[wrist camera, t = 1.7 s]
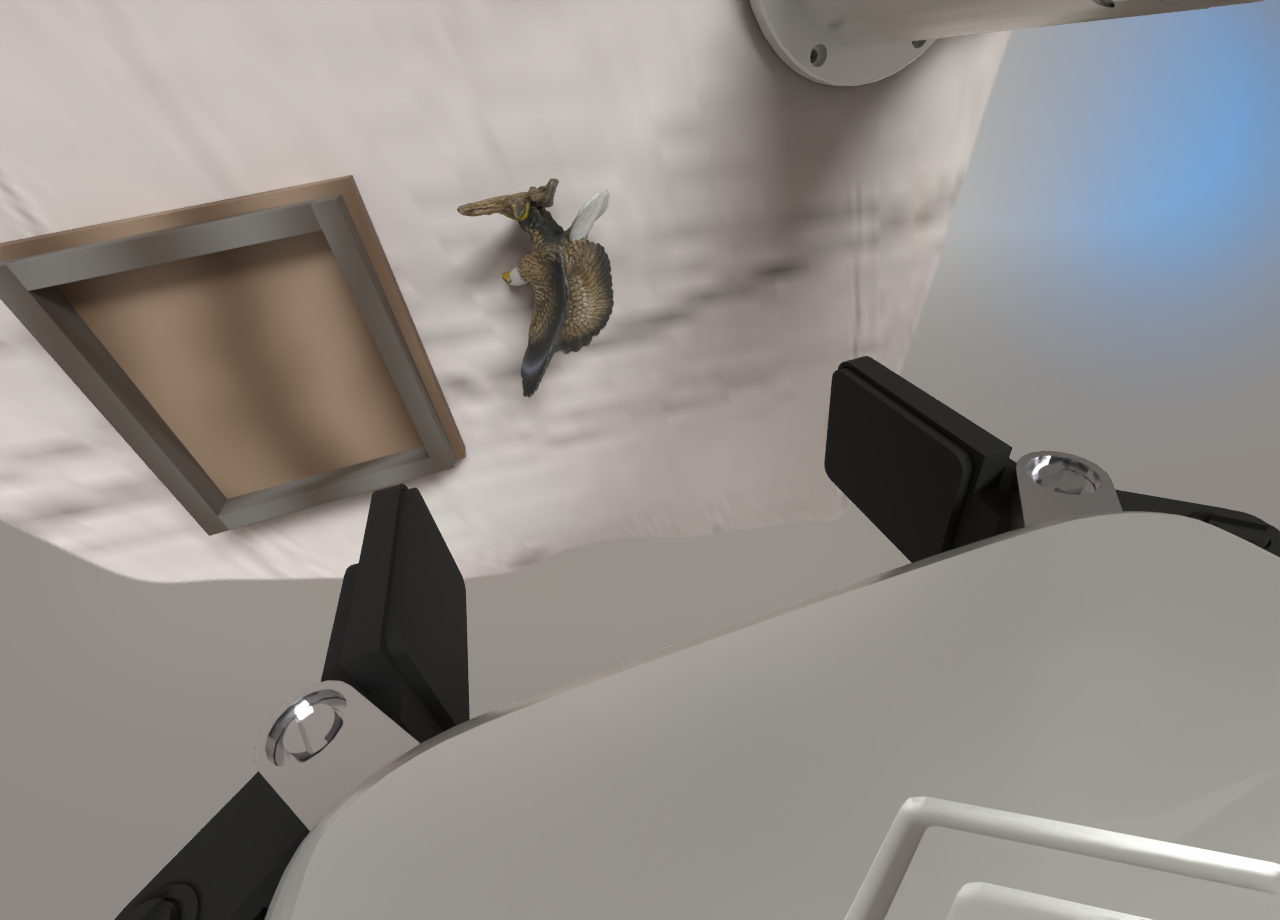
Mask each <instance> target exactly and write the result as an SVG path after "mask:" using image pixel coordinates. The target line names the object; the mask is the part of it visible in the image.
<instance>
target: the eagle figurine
mask: <svg viewBox="0 0 1280 920" xmlns="http://www.w3.org/2000/svg"><path fill="white" fill-rule="evenodd" d="M558 183H559V180H558V179H550V181H549V182H548V184H547V185H546V186H541V187H539V188H538V189H537V188H536V187H530V189H529V192H522V193H517V194H514V195H505V196H499V197H494V198H490V199H486V200H483V201H479V202H475V203H469V204H466V205H463V206H460V207H458V209H457V210H458V212H459V213H461V214H462V215H466V216H479V215H491V214H493V213H500V214H503V215H505V216H507V217H509V218H511V219H515V220H518V222H519V224H520V225H521V228H522V229H523V230H525V231H526V232H527V233H529V235H530V238H531V241H532V244H533V250H532V251H531V252H529V253H527V254H526V255H525V256H524V257H523V258H522V259H521V260H520V262H519V263H518V265H517V266H516V267H515V268H514V269H513V270H512V271H511V272H509V273H502V277H503V279H505V280H506V281H508V282H509V284H510V285H513V286H519V285H524V284H527V283H530V284H531V286H532V289H533V296H534V312H533V317H532V320H531V324H530V328H529V342H528V347H527V349H526V352H525V355H524V359H523V363H522V368H521V376H522V378H523V381H522V383H523V391H524V392H523V395H524V396H525V397H527V396H528V397H531V395H533V394H534V392H535V391H536V390H537V389H538V386H539V383H540V382H541V380H542V377H543V375H544V374H545V371H546V368H547V367H548V365H549V362H550V360H551V358H552V356H553V354H554V352H555V351H558V350H560V349H562V351H563V352H564V353H567V354H568V353H569V352H570V351H571V350H572V351H574V352H577V351H579V350H580V349H581V347H582V346H583V345H588V344H589V343H590V342H591V340H592V336H593V335H598V334H599V332H600V329H601V328H603V327H604V326H605V325H606V322H607V321H608V320H609V315H610V314H611V313H612V307H613V304H614V302H613V290H612V289H611V288H612V276H611V274H610V272H611V267H610V261H609V259H608V255H607V254H606V253H605V249H604V247H603V246H601V245H600V244H599V243H597V244H596V245H595V243H594V242H590V243H589V241H588V240H587V238H588V233H589V231H590V229H591V227H592V226H593V224H594V222H595V221H596V220H597V219H598V218H599V217H600V216H601V215H602V214H603V213H604V212H605V210H606V209H607V207H608V199H609V196H610V194H609V192H608V190H604V191H598V192H596V193H595V194H594V195H593V197H591V198H590V199H589V200H588V202H586V203H585V204H584V205H583V206H582V208H581V210H580V211H579V213H578V214H577V216H576V218H575V219H574V221H573V223H572V225H571V227H570V228H569V229H568V230H566V231H564V230H563V228H562V227H561V226H559V225H558V224H557V223H556V222H555V220H554V219H553V218H552V216H551V213H550V212H549V211H546V209H545V207H551V206H552V205H553V198H554V194H555V191H556V187H557V185H558Z"/></svg>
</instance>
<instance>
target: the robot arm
mask: <svg viewBox="0 0 1280 920" xmlns="http://www.w3.org/2000/svg"><path fill="white" fill-rule="evenodd" d="M1259 1H1264V0H750V4H751V8H752V11H753V13H754V15H755V17H756V19H757V22H758V24H759V26H760V28H761V30H762V33H763V35H764V37H765V38H766V39H767V41H768V42H769V44H770V45H771V47H772V48H773V49H774V51H775V52H776V54H777V55H778V56H779V58H781V59H782V60H783V61H784V62H785V63H786V64H787V65H788V66H789V67H791V68H792V69H793V70H794V71H795V72H796V73H798V74H800V75H802V76H804V77H806V78H808V79H810V80H812V81H814V82H816V83H821V84H826V85H831V86H858V85H863V84H868V83H873V82H877V81H879V80H881V79H884V78H886V77H888V76H890V75H893V74H895V73H897V72H898V71H900V70H901V69H903V68H904V67H906V66H907V65H908V64H910V63H911V62H913V61H914V60H915V59H917V58H918V57H919V56H920V55H921V54H922V53H923V52H924V51H925V50H926V49H927V48H928V47H929V46H930V45H931V44H932V43H933V42H935V41H936V40H937V39H938V38H945V37H954V36H963V35H972V34H981V33H990V32H999V31H1008V30H1016V29H1025V28H1035V27H1044V26H1053V25H1062V24H1071V23H1080V22H1089V21H1098V20H1107V19H1116V18H1125V17H1134V16H1143V15H1152V14H1161V13H1170V12H1180V11H1188V10H1198V9H1207V8H1210V7H1217V6H1226V5H1235V4H1243V3H1252V2H1259ZM811 52H812V55H813V56H812V60H810V56H811ZM1011 450H1012V447H1011V446H1009V445H1008V444H1006V443H1004V442H1003V441H1001V440H999V439H998V438H996V437H995V436H993V435H992V434H990V433H989V432H987V431H985V430H984V429H982V428H981V427H979V426H977V425H976V424H974V423H973V422H971V421H970V420H968V419H967V418H965V417H963V416H962V415H960V414H959V413H957V412H956V411H954V410H952V409H951V408H949V407H948V406H946V405H945V404H943V403H941V402H940V401H938V400H936V399H935V398H934V397H932V396H930V395H929V394H927V393H926V392H924V391H923V390H921V389H919V388H918V387H916V386H915V385H913V384H912V383H910V382H908V381H907V380H905V379H904V378H902V377H901V376H899V375H897V374H896V373H894V372H893V371H891V370H890V369H888V368H886V367H885V366H883V365H882V364H880V363H879V362H877V361H875V360H874V359H872V358H871V357H868V356H864V357H860V358H856V359H853V360H849V361H846V362H843V363H841V364H840V365H839V367H838V370H837V371H835V372H834V374H833V377H832V386H831V397H830V408H829V419H828V430H827V441H826V452H825V470H826V473H827V475H828V477H829V478H830V479H831V481H832V482H833V483H834V484H835V485H836V486H837V487H838V488H839V489H840V490H841V491H842V492H843V493H844V494H845V495H846V496H847V497H848V498H849V499H850V500H851V501H852V502H853V503H854V504H855V505H856V506H857V507H858V508H859V509H860V510H861V511H862V512H863V513H864V514H865V515H866V516H867V517H868V518H869V519H870V520H871V522H872V523H874V524H875V526H876V527H877V528H878V529H879V530H880V531H881V532H882V533H883V534H884V535H885V536H886V537H887V538H888V539H889V540H890V541H891V542H892V543H893V544H894V545H895V546H896V547H897V548H898V549H899V550H900V551H901V552H902V553H903V554H904V555H905V556H906V557H907V558H908V559H909V560H910V561H911V562H912V563H911V564H908V565H905V566H902V567H899V568H896V569H893V570H890V571H887V572H884V573H881V574H879V575H875V576H872V577H869V578H866V579H863V580H861V581H858V582H855V583H852V584H849V585H846V586H843V587H840V588H837V589H834V590H831V591H828V592H826V593H822V594H820V595H817V596H814V597H811V598H808V599H805V600H802V601H799V602H796V603H793V604H790V605H788V606H785V607H782V608H779V609H776V610H773V611H770V612H767V613H765V614H761V615H759V616H756V617H753V618H750V619H747V620H745V621H741V622H738V623H736V624H733V625H730V626H727V627H724V628H721V629H718V630H715V631H712V632H709V633H706V634H704V635H701V636H698V637H695V638H692V639H690V640H687V641H684V642H681V643H678V644H675V645H672V646H670V647H667V648H664V649H661V650H658V651H655V652H652V653H650V654H647V655H644V656H641V657H638V658H635V659H632V660H629V661H627V662H624V663H621V664H618V665H615V666H612V667H610V668H607V669H604V670H601V671H598V672H596V673H592V674H590V675H587V676H584V677H581V678H579V679H576V680H573V681H570V682H567V683H565V684H562V685H560V686H557V687H554V688H551V689H548V690H546V691H543V692H540V693H538V694H535V695H533V696H530V697H527V698H524V699H521V700H519V701H516V702H513V703H511V704H508V705H505V706H502V707H500V708H498V709H495V710H492V711H490V712H488V713H485V714H483V715H480V716H478V717H476V718H473V719H471V720H470V719H469V687H468V686H469V684H468V653H467V652H468V650H467V615H466V589H465V584H464V580H463V577H462V575H461V573H460V571H459V569H458V567H457V565H456V563H455V561H454V559H453V557H452V555H451V553H450V551H449V549H448V547H447V545H446V543H445V541H444V539H443V537H442V535H441V533H440V531H439V529H438V527H437V525H436V523H435V521H434V519H433V517H432V515H431V513H430V511H429V509H428V507H427V505H426V504H425V502H424V500H423V498H422V496H421V494H420V492H419V490H418V489H417V488H412V489H408V488H407V486H406V485H405V484H399V485H396V486H392V487H388V488H385V489H381V490H378V491H375V492H373V495H372V499H371V504H370V509H369V514H368V519H367V524H366V529H365V534H364V539H363V545H362V550H361V555H360V560H359V563H358V564H354V565H351V566H349V567H348V568H347V570H346V572H345V575H344V579H343V584H342V589H341V593H340V597H339V602H338V607H337V611H336V616H335V620H334V625H333V629H332V633H331V638H330V643H329V647H328V652H327V656H326V661H325V665H324V670H323V675H322V679H321V682H320V683H316V684H313V685H311V686H309V687H307V688H305V689H303V690H301V691H299V692H297V693H296V694H294V695H293V696H292V697H290V698H289V699H288V700H286V701H285V702H284V703H283V704H282V705H281V706H280V707H279V708H278V709H277V710H276V711H275V712H274V713H273V714H272V715H271V716H270V717H269V719H268V720H267V722H266V723H265V725H264V726H263V728H262V729H261V731H260V733H259V736H258V739H257V741H256V744H255V747H254V762H255V764H256V767H257V769H258V773H256V774H255V776H254V777H253V778H252V779H251V780H250V781H249V782H248V783H247V784H246V785H245V786H244V787H243V788H242V789H241V790H240V791H239V792H238V793H237V794H236V795H235V796H234V797H233V798H232V799H231V800H230V801H229V802H228V803H227V804H226V805H225V806H224V807H223V808H222V809H221V810H220V811H219V812H218V813H217V814H216V815H215V816H214V817H213V818H212V819H211V820H210V822H208V823H207V825H205V827H204V828H202V830H201V831H200V832H199V833H198V834H197V835H196V836H195V837H194V838H193V839H192V840H191V841H190V842H189V843H188V844H187V845H186V846H185V847H184V848H183V849H182V850H181V851H180V852H179V853H178V854H177V855H176V856H175V857H174V858H173V859H172V860H171V861H170V862H169V863H168V864H167V865H166V866H165V867H164V868H163V869H162V870H161V871H160V872H159V873H158V874H157V875H156V876H155V877H154V878H153V880H152V881H150V883H149V884H148V885H147V886H146V887H145V888H144V889H143V890H142V891H141V892H140V893H139V894H138V895H137V896H136V897H135V898H134V899H133V900H132V901H131V902H130V903H129V904H128V905H127V906H126V907H125V908H124V909H123V911H122V912H121V913H120V914H119V915H118V916H117V917H116V919H115V920H1280V531H1279V530H1278V529H1276V528H1275V527H1273V526H1271V525H1269V524H1267V523H1265V522H1264V521H1263V520H1261V519H1259V518H1257V517H1255V516H1252V515H1250V514H1247V513H1244V512H1239V511H1234V510H1229V509H1225V508H1219V507H1213V506H1207V505H1202V504H1196V503H1190V502H1184V501H1178V500H1172V499H1167V498H1160V497H1155V496H1149V495H1143V494H1137V493H1132V492H1125V491H1120V490H1115V488H1114V485H1113V483H1112V480H1111V478H1110V477H1109V475H1108V474H1107V472H1105V471H1104V470H1103V469H1102V468H1100V467H1099V466H1098V465H1096V464H1094V463H1092V462H1090V461H1088V460H1086V459H1084V458H1081V457H1078V456H1075V455H1072V454H1067V453H1062V452H1055V451H1040V452H1033V453H1030V454H1027V455H1024V456H1023V457H1021V458H1020V459H1019V460H1018V462H1017V463H1015V462H1014V461H1013V460H1011V459H1010V458H1009V456H1010V453H1011Z"/></svg>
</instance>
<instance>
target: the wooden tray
mask: <svg viewBox="0 0 1280 920" xmlns="http://www.w3.org/2000/svg"><path fill="white" fill-rule="evenodd" d="M0 299H1V300H2V301H3V302H4V303H5V304H6V306H7V307H8V308H9V309H10V310H11V311H12V312H13V314H14V315H15V316H16V317H17V318H18V319H19V320H20V322H21V323H22V324H23V325H24V326H25V327H26V328H27V329H28V331H29V332H30V333H31V334H32V335H33V336H34V337H35V339H36V340H37V341H38V342H39V343H40V344H41V345H42V346H43V348H44V349H45V350H46V351H47V352H48V353H49V354H50V356H51V357H52V358H53V359H54V360H55V361H56V362H57V364H58V365H59V366H60V367H61V368H62V369H63V370H64V371H65V373H66V374H67V375H68V376H69V377H70V378H71V379H72V381H73V382H74V383H75V384H76V385H77V386H78V387H79V388H80V390H81V391H82V392H83V393H84V394H85V395H86V396H87V398H88V399H89V400H90V401H91V402H92V403H93V404H94V406H95V407H96V408H97V409H98V410H99V411H100V412H101V413H102V415H103V416H104V417H105V418H106V419H107V420H108V421H109V423H110V424H111V425H112V426H113V427H114V428H115V429H116V431H117V432H118V433H119V434H120V435H121V436H122V437H123V438H124V440H125V441H126V442H127V443H128V444H129V445H130V446H131V448H132V449H133V450H134V451H135V452H136V453H137V454H138V455H139V457H140V458H141V459H142V460H143V461H144V462H145V463H146V465H147V466H148V467H149V468H150V469H151V470H152V471H153V473H154V474H155V475H156V476H157V477H158V478H159V479H160V480H161V482H162V483H163V484H164V485H165V486H166V487H167V488H168V490H169V491H170V492H171V493H172V494H173V495H174V496H175V497H176V499H177V500H178V501H179V502H180V503H181V504H182V505H183V507H184V508H185V509H186V510H187V511H188V512H189V513H190V515H191V516H192V517H193V518H194V519H195V520H196V521H197V522H198V524H199V525H200V526H201V527H202V528H203V529H204V530H205V532H206V533H207V534H208V535H209V536H210V535H213V534H217V533H220V532H224V531H228V530H231V529H235V528H238V527H242V526H245V525H249V524H253V523H256V522H260V521H263V520H267V519H270V518H274V517H278V516H281V515H285V514H288V513H292V512H295V511H299V510H303V509H306V508H310V507H313V506H317V505H321V504H324V503H328V502H331V501H335V500H338V499H342V498H346V497H349V496H353V495H356V494H360V493H363V492H367V491H371V490H374V489H378V488H381V487H385V486H388V485H392V484H396V483H399V482H403V481H406V480H410V479H414V478H417V477H421V476H424V475H428V474H431V473H435V472H439V471H442V470H446V469H449V468H453V467H454V460H458V459H461V458H465V457H466V456H465V445H464V443H463V440H462V438H461V436H460V433H459V431H458V428H457V426H456V424H455V421H454V419H453V416H452V414H451V412H450V409H449V407H448V404H447V402H446V400H445V397H444V395H443V392H442V390H441V388H440V385H439V383H438V380H437V378H436V376H435V373H434V371H433V368H432V366H431V363H430V361H429V359H428V356H427V354H426V351H425V349H424V347H423V344H422V342H421V339H420V337H419V335H418V332H417V330H416V327H415V325H414V323H413V320H412V318H411V315H410V313H409V311H408V308H407V306H406V303H405V301H404V299H403V296H402V294H401V291H400V289H399V287H398V284H397V282H396V279H395V277H394V275H393V272H392V270H391V267H390V265H389V263H388V260H387V258H386V255H385V253H384V251H383V248H382V246H381V243H380V241H379V239H378V236H377V234H376V231H375V229H374V227H373V224H372V222H371V219H370V217H369V215H368V212H367V210H366V207H365V205H364V203H363V200H362V198H361V195H360V193H359V191H358V188H357V186H356V183H355V181H354V179H353V176H352V175H350V176H345V177H340V178H335V179H329V180H324V181H319V182H314V183H309V184H304V185H299V186H293V187H288V188H283V189H278V190H273V191H268V192H263V193H257V194H252V195H247V196H242V197H237V198H232V199H226V200H221V201H216V202H211V203H206V204H201V205H196V206H190V207H185V208H180V209H175V210H170V211H165V212H159V213H154V214H149V215H144V216H139V217H134V218H129V219H123V220H118V221H113V222H108V223H103V224H98V225H93V226H87V227H82V228H77V229H72V230H67V231H62V232H56V233H51V234H46V235H41V236H36V237H31V238H26V239H20V240H15V241H10V242H5V243H0Z"/></svg>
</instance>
